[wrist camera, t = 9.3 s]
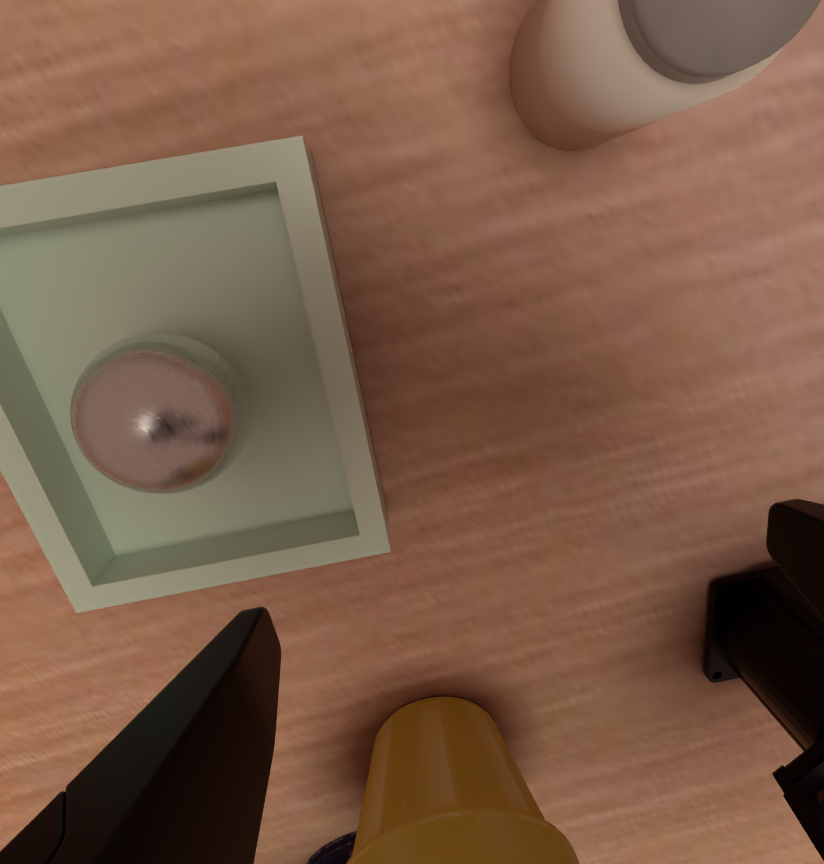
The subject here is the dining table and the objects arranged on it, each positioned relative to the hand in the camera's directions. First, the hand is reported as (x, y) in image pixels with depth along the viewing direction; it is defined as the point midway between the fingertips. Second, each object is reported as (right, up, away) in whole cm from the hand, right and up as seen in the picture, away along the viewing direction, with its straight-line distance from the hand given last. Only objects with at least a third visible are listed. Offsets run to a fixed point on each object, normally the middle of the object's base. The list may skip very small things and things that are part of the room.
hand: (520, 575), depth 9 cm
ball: (-10, +4, +9) cm, 14 cm away
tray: (-10, +4, +10) cm, 15 cm away
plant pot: (-1, -14, +18) cm, 23 cm away
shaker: (+3, +14, +7) cm, 16 cm away
